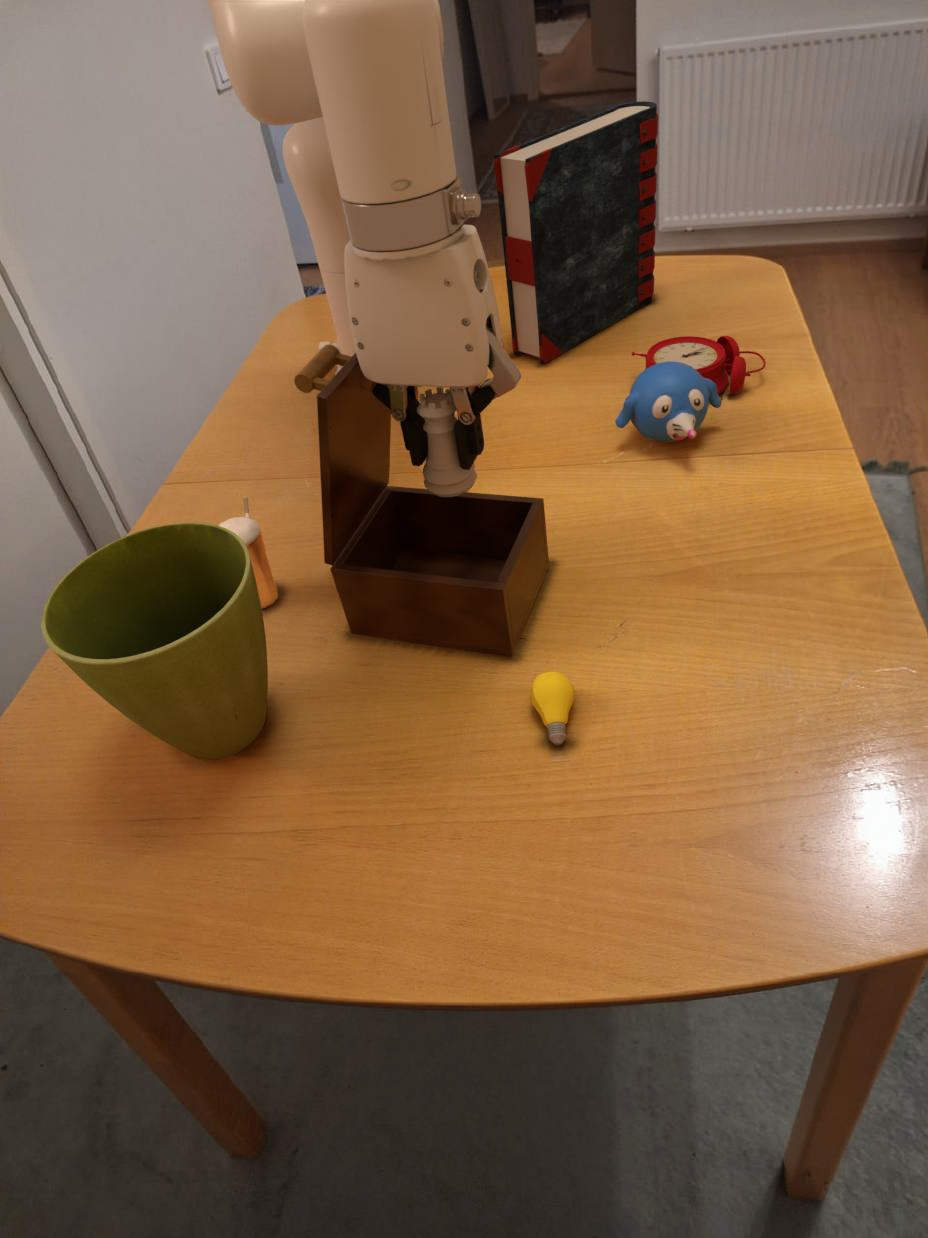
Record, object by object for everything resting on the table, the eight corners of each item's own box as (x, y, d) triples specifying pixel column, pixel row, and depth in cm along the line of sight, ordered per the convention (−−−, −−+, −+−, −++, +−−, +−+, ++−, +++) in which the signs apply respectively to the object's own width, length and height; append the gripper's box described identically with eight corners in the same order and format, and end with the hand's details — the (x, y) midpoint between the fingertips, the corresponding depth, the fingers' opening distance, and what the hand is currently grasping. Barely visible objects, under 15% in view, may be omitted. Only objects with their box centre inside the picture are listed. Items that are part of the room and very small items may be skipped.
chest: (549, 564, 78) (543, 498, 72) (512, 657, 69) (502, 589, 64) (401, 548, 83) (386, 485, 77) (350, 633, 74) (329, 568, 69)
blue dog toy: (636, 483, 85) (637, 411, 80) (604, 428, 94) (603, 360, 88) (746, 460, 86) (754, 387, 80) (704, 408, 94) (709, 339, 89)
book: (627, 288, 122) (627, 98, 106) (664, 297, 118) (670, 101, 101) (510, 354, 112) (489, 154, 95) (546, 366, 107) (531, 159, 91)
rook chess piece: (486, 472, 67) (474, 383, 62) (464, 502, 64) (449, 412, 59) (439, 465, 69) (422, 378, 63) (415, 495, 66) (396, 407, 60)
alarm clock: (626, 343, 101) (749, 302, 97) (637, 386, 105) (756, 349, 101) (636, 382, 94) (769, 340, 89) (647, 427, 98) (776, 389, 93)
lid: (394, 320, 65) (342, 307, 66) (326, 398, 57) (267, 381, 57) (389, 482, 77) (345, 469, 78) (332, 566, 69) (283, 550, 69)
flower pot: (274, 809, 61) (198, 665, 50) (102, 796, 64) (-4, 658, 54) (331, 665, 72) (278, 520, 61) (180, 660, 75) (105, 522, 64)
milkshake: (296, 580, 81) (266, 499, 74) (271, 616, 78) (237, 534, 71) (258, 575, 83) (225, 495, 76) (231, 610, 79) (194, 529, 72)
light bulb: (563, 684, 66) (576, 664, 63) (572, 752, 63) (586, 735, 60) (523, 682, 66) (534, 662, 63) (530, 752, 62) (543, 734, 59)
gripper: (541, 191, 52) (558, 439, 65) (318, 202, 58) (373, 429, 70) (508, 233, 47) (533, 493, 60) (267, 241, 53) (336, 477, 65)
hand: (446, 456), depth 65 cm, fingers closed on rook chess piece, 3 cm apart
